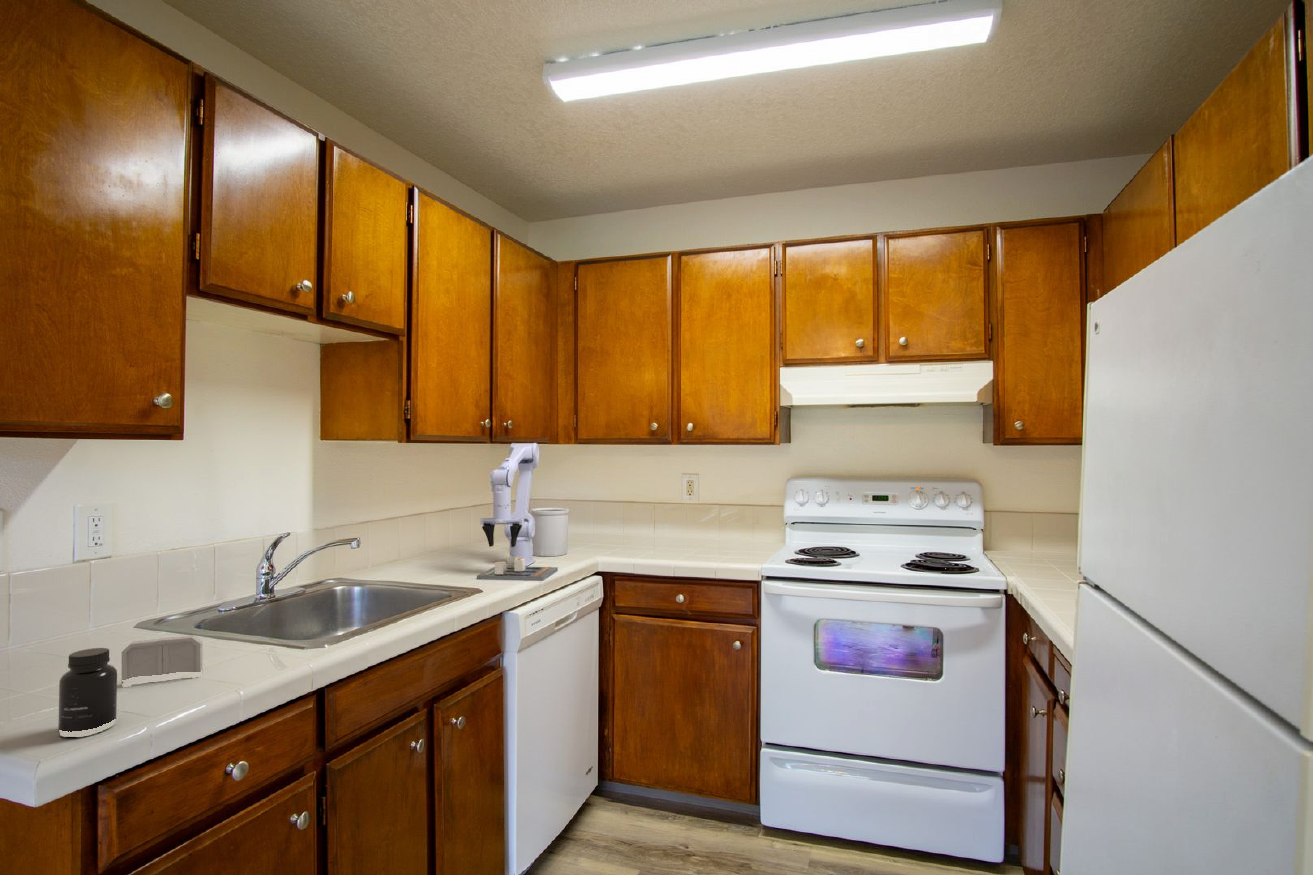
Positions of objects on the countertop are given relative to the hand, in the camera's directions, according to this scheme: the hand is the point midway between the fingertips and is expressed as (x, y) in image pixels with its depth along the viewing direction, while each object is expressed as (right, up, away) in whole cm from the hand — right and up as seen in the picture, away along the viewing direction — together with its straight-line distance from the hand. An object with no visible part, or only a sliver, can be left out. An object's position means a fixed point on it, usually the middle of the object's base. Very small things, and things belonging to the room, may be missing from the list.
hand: (502, 546), depth 219 cm
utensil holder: (+9, -10, +40) cm, 42 cm away
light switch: (-41, -10, -96) cm, 105 cm away
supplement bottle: (-37, -9, -117) cm, 123 cm away
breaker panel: (+5, -9, -1) cm, 11 cm away
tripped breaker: (+6, -8, -1) cm, 10 cm away
